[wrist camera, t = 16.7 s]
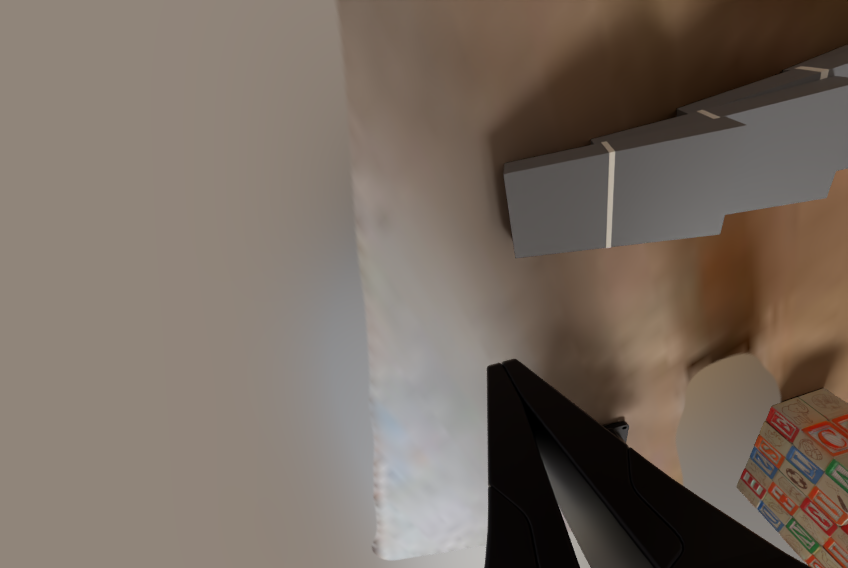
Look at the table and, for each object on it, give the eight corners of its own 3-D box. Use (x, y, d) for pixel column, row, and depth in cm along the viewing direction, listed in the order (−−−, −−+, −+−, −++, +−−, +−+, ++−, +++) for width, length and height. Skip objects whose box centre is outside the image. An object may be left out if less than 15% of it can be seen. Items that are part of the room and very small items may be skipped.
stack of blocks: (767, 404, 37) (922, 528, 27) (823, 385, 37) (1001, 504, 26) (735, 487, 49) (835, 596, 38) (777, 473, 48) (889, 580, 38)
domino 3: (676, 194, 21) (910, 135, 17) (688, 206, 19) (947, 145, 15) (676, 108, 18) (953, 14, 14) (690, 114, 17) (1001, 12, 13)
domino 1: (515, 243, 21) (703, 218, 18) (515, 258, 20) (720, 234, 16) (504, 163, 18) (725, 115, 15) (503, 173, 17) (747, 124, 14)
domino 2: (594, 222, 21) (801, 184, 18) (600, 235, 20) (826, 198, 16) (590, 138, 18) (834, 75, 15) (597, 147, 17) (868, 79, 13)
